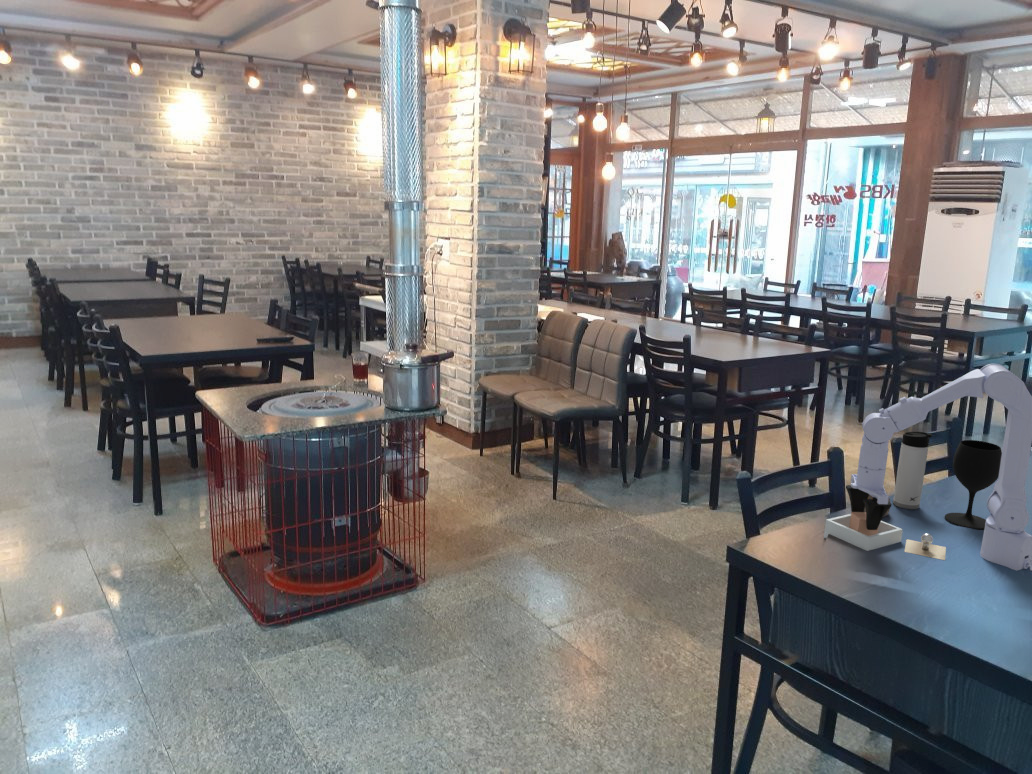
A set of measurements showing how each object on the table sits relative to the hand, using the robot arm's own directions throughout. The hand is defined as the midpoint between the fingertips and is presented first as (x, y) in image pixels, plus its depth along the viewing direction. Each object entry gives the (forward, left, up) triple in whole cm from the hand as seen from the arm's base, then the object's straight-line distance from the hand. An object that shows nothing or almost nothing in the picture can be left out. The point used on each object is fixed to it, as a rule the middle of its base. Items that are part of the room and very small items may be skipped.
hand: (864, 522), depth 183 cm
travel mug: (+11, -32, -5) cm, 34 cm away
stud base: (-11, -7, -5) cm, 14 cm away
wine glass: (-3, -36, -5) cm, 37 cm away
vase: (+9, -16, -5) cm, 19 cm away
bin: (0, 0, -5) cm, 5 cm away
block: (0, 0, -4) cm, 4 cm away
